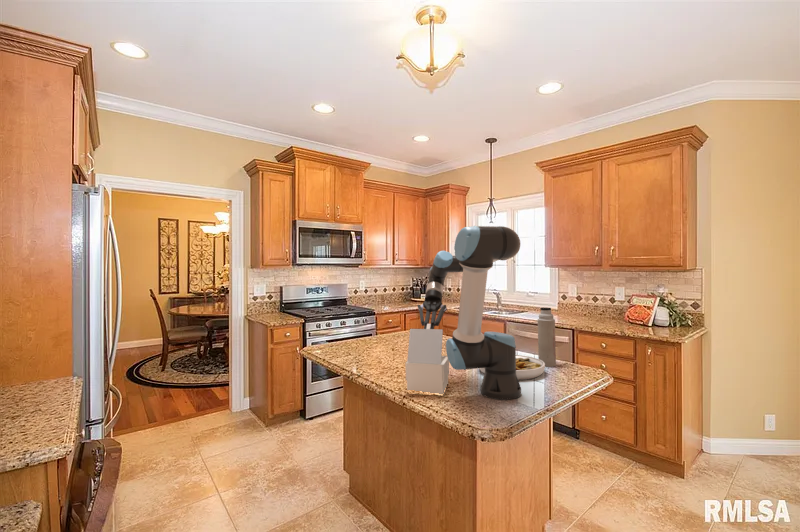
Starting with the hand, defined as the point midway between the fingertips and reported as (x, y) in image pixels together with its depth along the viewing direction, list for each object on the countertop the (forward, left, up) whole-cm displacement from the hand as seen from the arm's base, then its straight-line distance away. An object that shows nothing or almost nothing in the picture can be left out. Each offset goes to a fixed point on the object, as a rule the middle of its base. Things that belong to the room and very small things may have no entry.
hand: (427, 338), depth 154 cm
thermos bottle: (+16, -67, -20) cm, 72 cm away
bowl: (+11, -44, -21) cm, 50 cm away
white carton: (-1, 0, -20) cm, 20 cm away
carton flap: (-4, +2, -2) cm, 5 cm away
